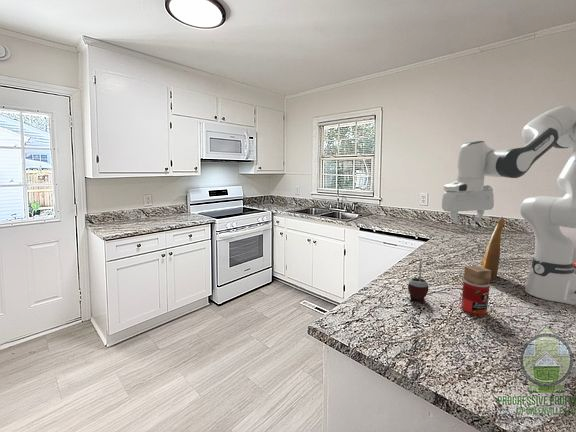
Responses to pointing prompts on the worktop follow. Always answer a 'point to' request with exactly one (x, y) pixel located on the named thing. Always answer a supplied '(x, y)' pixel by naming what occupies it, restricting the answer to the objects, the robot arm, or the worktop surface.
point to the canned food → (475, 298)
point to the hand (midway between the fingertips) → (466, 222)
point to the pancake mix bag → (493, 250)
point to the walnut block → (477, 274)
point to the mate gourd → (418, 288)
